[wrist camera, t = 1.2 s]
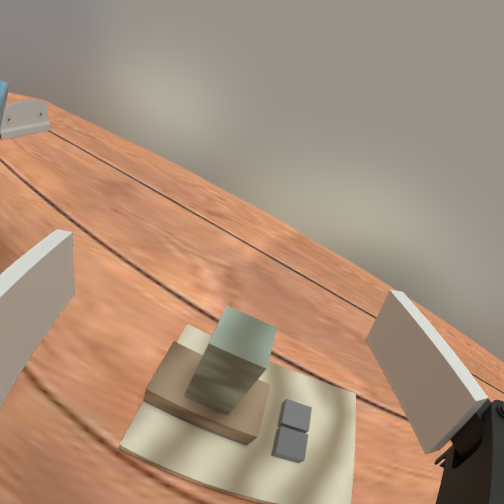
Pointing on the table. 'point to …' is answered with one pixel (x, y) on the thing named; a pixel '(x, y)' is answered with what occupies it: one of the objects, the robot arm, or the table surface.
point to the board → (257, 443)
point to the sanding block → (218, 379)
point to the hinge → (24, 119)
